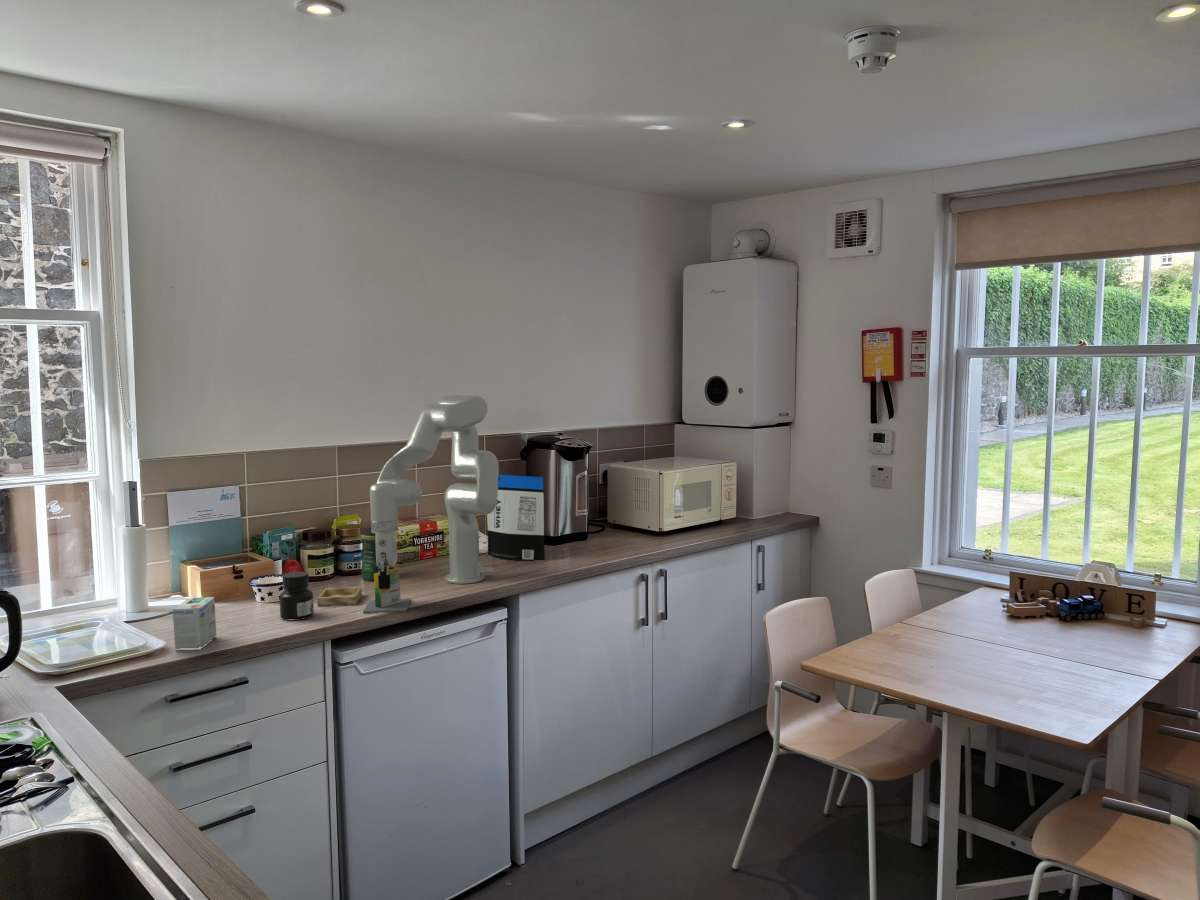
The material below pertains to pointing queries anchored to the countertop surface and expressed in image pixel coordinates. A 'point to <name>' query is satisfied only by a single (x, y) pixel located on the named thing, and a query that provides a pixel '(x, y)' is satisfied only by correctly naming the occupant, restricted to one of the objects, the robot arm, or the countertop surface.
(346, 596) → the tray
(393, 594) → the crayon box
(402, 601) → the mat
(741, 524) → the countertop surface
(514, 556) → the protein powder
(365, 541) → the coffee jar
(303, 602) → the ink bottle
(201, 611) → the light bulb box
